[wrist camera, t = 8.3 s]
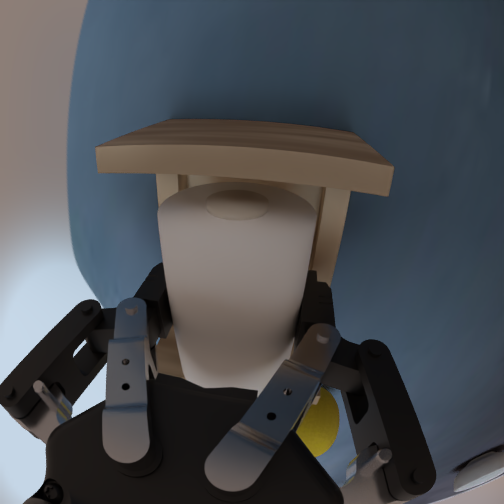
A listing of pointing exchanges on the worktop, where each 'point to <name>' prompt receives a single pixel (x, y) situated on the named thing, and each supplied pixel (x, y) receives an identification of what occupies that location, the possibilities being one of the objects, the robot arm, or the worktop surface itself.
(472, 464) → the cereal bowl
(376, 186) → the roll holder
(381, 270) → the worktop surface
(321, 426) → the lemon
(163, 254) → the paper roll
